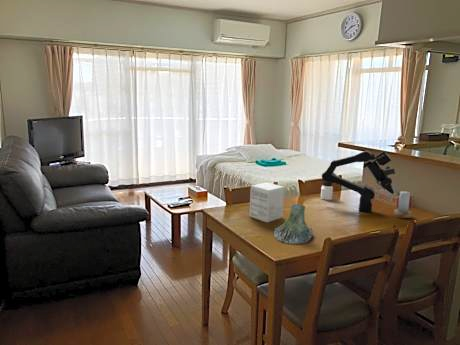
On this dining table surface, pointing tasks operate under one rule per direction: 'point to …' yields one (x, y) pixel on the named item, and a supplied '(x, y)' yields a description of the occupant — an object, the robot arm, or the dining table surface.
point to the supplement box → (266, 201)
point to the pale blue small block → (403, 201)
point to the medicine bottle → (327, 191)
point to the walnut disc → (402, 214)
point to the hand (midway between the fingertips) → (391, 192)
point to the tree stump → (294, 227)
